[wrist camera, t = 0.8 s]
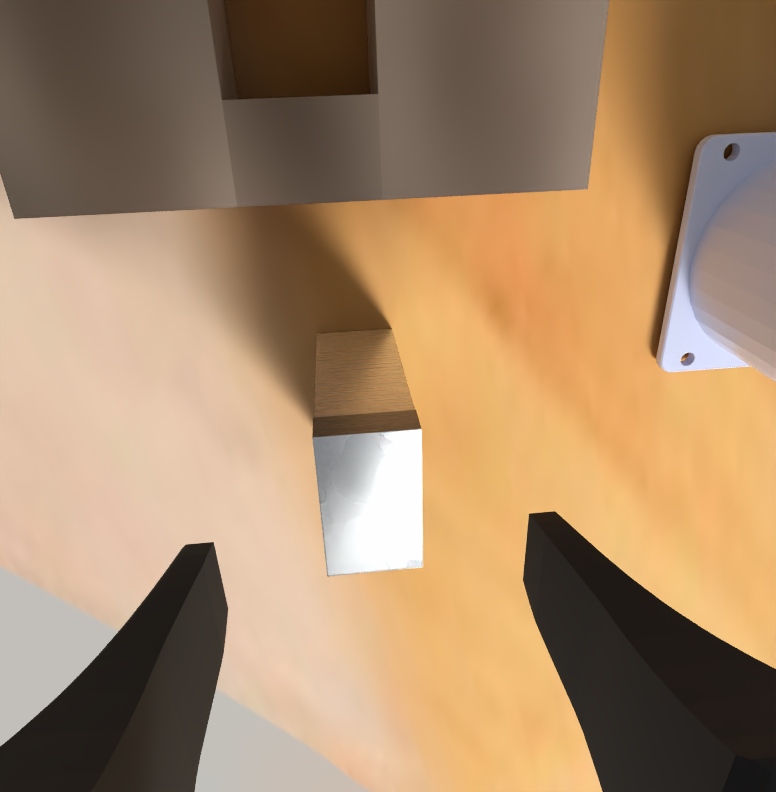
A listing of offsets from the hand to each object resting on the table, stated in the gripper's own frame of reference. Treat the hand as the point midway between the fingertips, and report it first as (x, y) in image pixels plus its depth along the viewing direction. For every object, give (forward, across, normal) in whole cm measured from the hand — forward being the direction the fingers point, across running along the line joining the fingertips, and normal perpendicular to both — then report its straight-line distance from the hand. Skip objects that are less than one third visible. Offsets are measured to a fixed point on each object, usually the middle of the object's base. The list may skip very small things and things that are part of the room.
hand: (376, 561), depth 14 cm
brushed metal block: (+9, 0, 0) cm, 9 cm away
